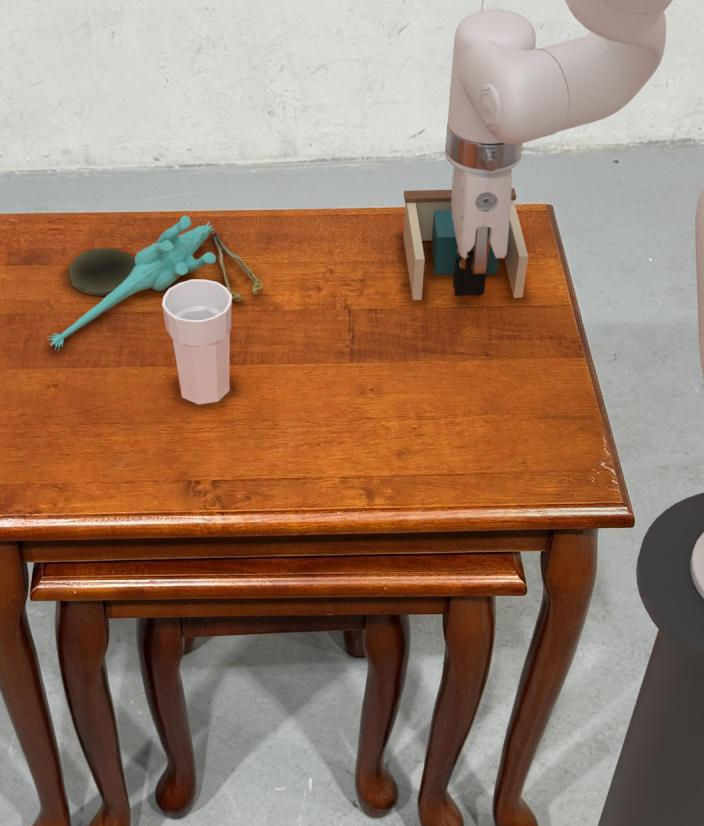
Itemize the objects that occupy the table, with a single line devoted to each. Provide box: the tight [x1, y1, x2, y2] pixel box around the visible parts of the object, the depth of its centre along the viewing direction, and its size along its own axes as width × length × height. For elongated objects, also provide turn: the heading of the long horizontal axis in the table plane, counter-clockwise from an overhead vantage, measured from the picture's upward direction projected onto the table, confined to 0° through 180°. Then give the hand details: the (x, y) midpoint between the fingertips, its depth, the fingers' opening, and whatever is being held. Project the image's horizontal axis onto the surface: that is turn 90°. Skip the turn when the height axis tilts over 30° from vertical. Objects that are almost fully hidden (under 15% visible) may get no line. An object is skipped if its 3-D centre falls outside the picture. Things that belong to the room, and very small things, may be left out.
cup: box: [161, 278, 233, 406], centre depth 126 cm, size 7×7×11 cm
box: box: [430, 211, 500, 275], centre depth 143 cm, size 5×7×5 cm
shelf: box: [402, 187, 529, 301], centre depth 142 cm, size 12×12×6 cm
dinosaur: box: [46, 215, 217, 351], centre depth 138 cm, size 6×25×8 cm
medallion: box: [68, 247, 136, 296], centre depth 143 cm, size 8×8×1 cm
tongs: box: [210, 231, 264, 303], centre depth 143 cm, size 4×13×2 cm, turn 25°
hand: (468, 291), depth 139 cm, fingers closed
